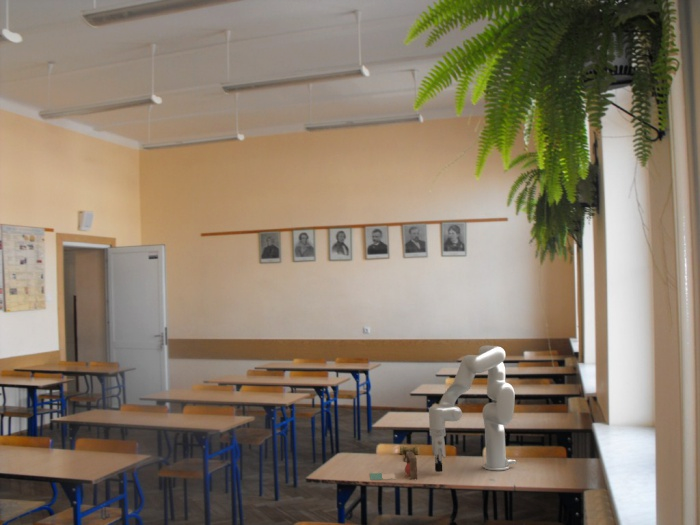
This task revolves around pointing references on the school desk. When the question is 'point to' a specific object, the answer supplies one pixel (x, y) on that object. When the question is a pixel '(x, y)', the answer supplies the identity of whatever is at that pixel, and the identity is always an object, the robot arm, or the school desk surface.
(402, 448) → the gavel
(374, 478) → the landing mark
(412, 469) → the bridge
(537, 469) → the school desk surface
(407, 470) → the ball
